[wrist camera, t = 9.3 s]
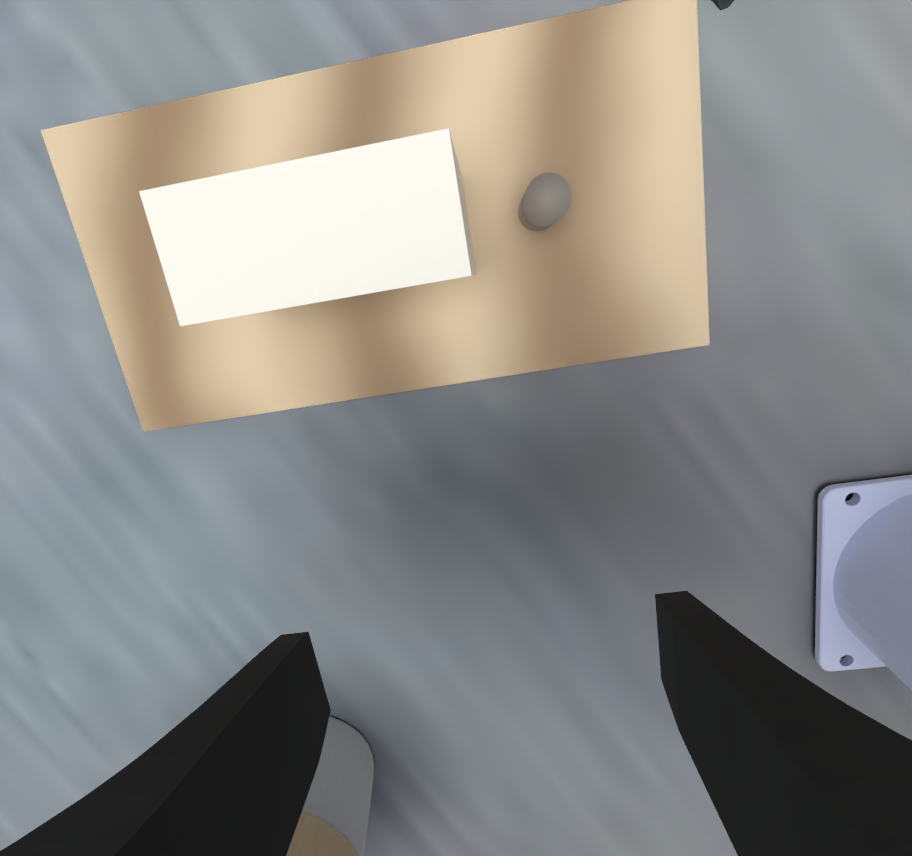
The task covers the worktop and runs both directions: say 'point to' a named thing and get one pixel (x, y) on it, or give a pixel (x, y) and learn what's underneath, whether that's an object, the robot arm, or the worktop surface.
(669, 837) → the worktop surface
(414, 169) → the white rectangular block
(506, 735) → the worktop surface
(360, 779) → the coffee cup
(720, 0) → the dark slate chunk
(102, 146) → the ledge
